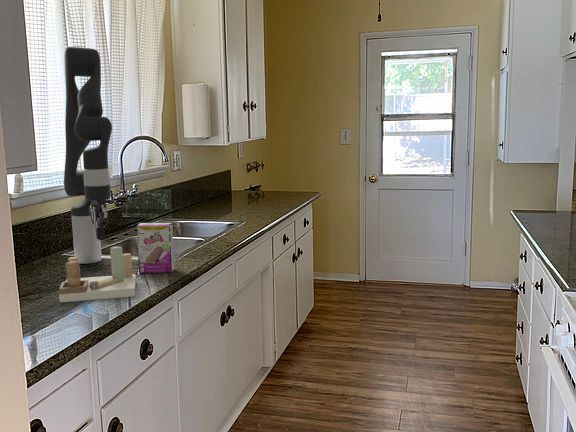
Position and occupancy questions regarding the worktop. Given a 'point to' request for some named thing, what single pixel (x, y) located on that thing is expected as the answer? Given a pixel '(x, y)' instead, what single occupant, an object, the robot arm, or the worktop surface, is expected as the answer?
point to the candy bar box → (155, 247)
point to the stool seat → (104, 292)
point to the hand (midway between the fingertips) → (100, 239)
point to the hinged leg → (116, 269)
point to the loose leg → (73, 274)
